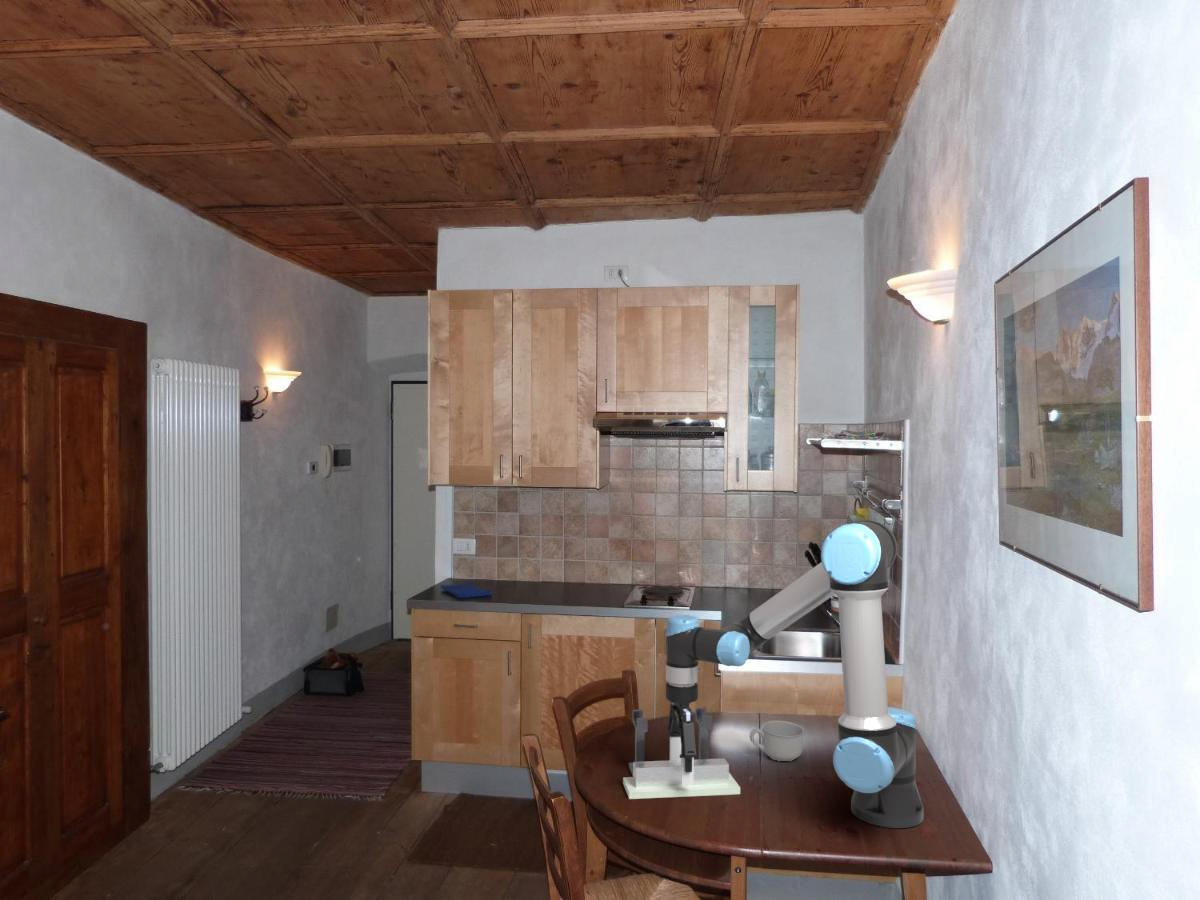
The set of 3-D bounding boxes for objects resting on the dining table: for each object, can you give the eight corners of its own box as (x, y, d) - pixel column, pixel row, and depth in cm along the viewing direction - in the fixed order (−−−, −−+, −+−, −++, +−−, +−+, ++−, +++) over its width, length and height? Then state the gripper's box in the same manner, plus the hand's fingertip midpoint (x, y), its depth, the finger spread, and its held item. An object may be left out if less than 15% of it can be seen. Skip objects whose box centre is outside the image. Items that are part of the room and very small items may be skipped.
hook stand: (715, 776, 215) (716, 717, 215) (634, 779, 213) (634, 719, 212) (707, 764, 223) (707, 707, 223) (628, 767, 221) (629, 709, 220)
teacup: (801, 751, 233) (801, 721, 233) (806, 766, 222) (807, 734, 222) (747, 749, 235) (747, 719, 234) (750, 764, 224) (750, 732, 224)
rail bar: (728, 783, 207) (728, 764, 207) (635, 787, 204) (636, 768, 204) (724, 777, 211) (724, 758, 211) (633, 780, 208) (633, 761, 208)
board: (740, 794, 205) (740, 787, 205) (629, 799, 201) (629, 792, 201) (729, 779, 214) (729, 773, 213) (623, 783, 210) (623, 777, 210)
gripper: (710, 697, 195) (709, 794, 196) (685, 668, 220) (685, 755, 220) (677, 698, 195) (676, 795, 195) (656, 669, 219) (655, 756, 219)
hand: (681, 774), depth 207 cm, fingers open, 12 cm apart
